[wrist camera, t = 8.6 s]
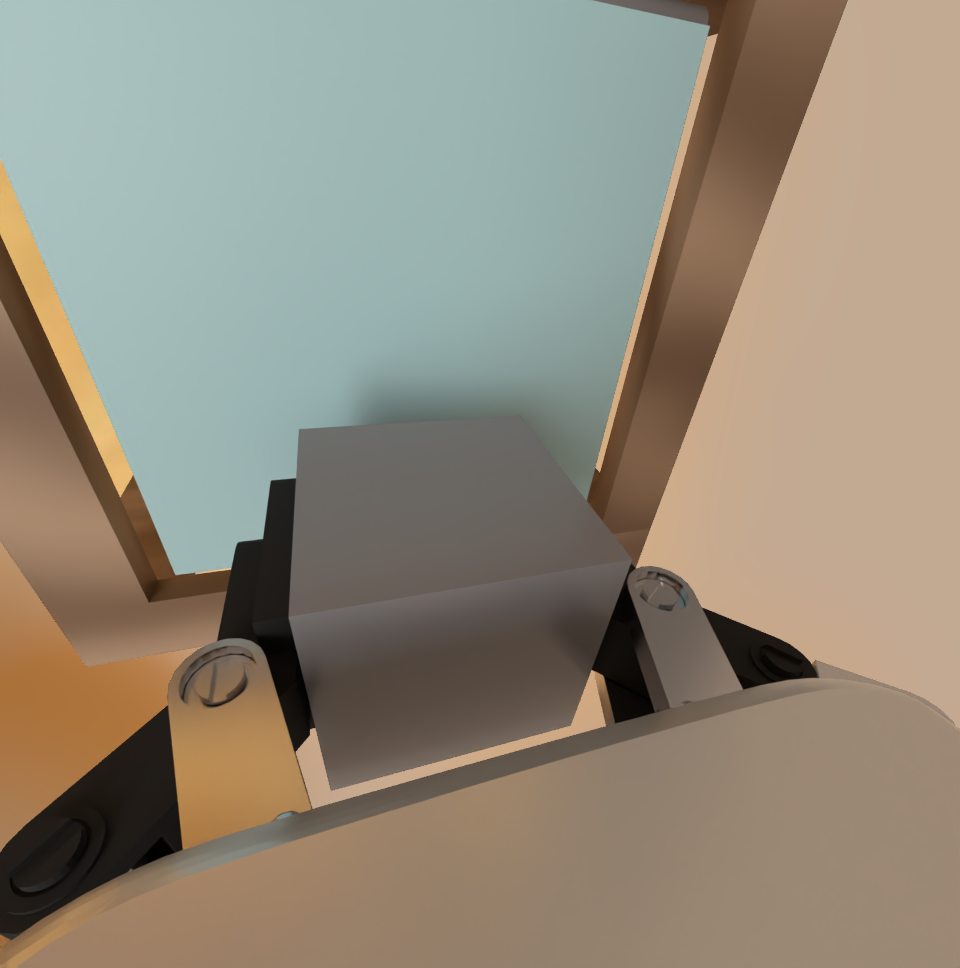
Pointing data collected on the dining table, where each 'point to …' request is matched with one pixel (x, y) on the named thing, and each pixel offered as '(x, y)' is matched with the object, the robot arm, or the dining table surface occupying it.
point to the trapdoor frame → (637, 425)
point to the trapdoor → (340, 220)
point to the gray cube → (442, 590)
